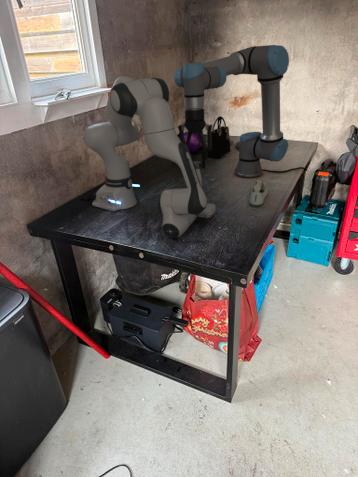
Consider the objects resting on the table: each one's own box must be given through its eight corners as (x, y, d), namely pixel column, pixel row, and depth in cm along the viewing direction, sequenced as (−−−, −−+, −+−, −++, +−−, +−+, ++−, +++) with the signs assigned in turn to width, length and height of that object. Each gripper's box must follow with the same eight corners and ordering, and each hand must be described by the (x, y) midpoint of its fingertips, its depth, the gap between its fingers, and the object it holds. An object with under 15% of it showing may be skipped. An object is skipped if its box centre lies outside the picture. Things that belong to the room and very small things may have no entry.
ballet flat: (269, 188, 169) (270, 173, 165) (265, 208, 149) (266, 191, 145) (252, 187, 171) (253, 172, 167) (246, 206, 151) (247, 190, 147)
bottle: (199, 210, 151) (198, 162, 139) (204, 214, 147) (203, 164, 136) (191, 212, 149) (189, 163, 138) (195, 216, 146) (193, 166, 134)
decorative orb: (204, 151, 235) (204, 129, 228) (194, 156, 225) (193, 134, 217) (186, 149, 243) (186, 128, 235) (175, 154, 232) (174, 132, 224)
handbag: (218, 159, 217) (218, 119, 204) (206, 157, 221) (205, 119, 209) (231, 151, 232) (232, 114, 219) (219, 150, 236) (220, 113, 224)
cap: (189, 166, 139) (189, 161, 138) (199, 165, 140) (199, 160, 139) (193, 169, 135) (193, 164, 134) (202, 168, 136) (202, 163, 135)
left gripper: (210, 209, 130) (220, 196, 141) (163, 203, 137) (176, 191, 148) (210, 223, 133) (220, 209, 144) (164, 217, 140) (177, 204, 151)
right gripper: (220, 106, 127) (219, 165, 138) (173, 107, 131) (177, 163, 143) (217, 110, 120) (216, 171, 132) (168, 110, 125) (172, 169, 137)
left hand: (197, 200), depth 146 cm, fingers closed on bottle, 4 cm apart
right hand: (196, 167), depth 137 cm, fingers open, 6 cm apart
